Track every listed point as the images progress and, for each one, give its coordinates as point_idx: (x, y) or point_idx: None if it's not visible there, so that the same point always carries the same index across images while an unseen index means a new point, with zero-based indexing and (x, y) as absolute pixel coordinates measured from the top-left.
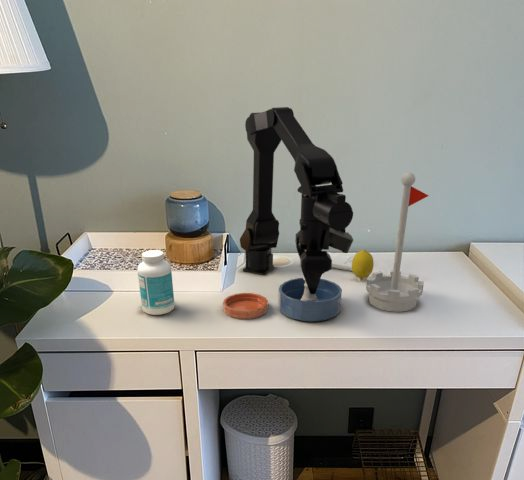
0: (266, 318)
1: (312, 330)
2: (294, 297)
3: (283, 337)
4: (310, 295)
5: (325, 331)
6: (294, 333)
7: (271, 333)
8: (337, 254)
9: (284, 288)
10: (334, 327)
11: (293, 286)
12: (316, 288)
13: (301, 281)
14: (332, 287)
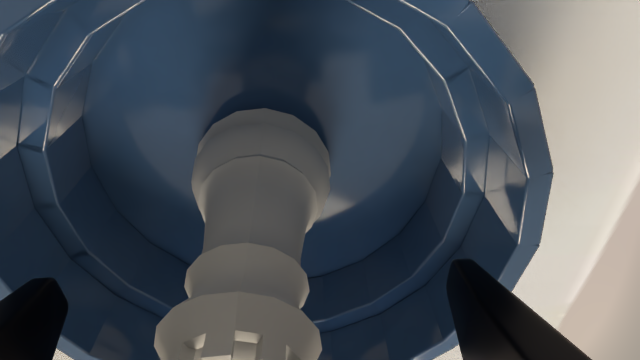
0: None
1: (563, 148)
2: (142, 240)
3: (587, 270)
4: (303, 226)
5: (605, 74)
6: (565, 230)
7: (532, 307)
8: None
9: None
10: (570, 4)
11: (101, 302)
12: (520, 304)
13: None
14: (52, 12)
